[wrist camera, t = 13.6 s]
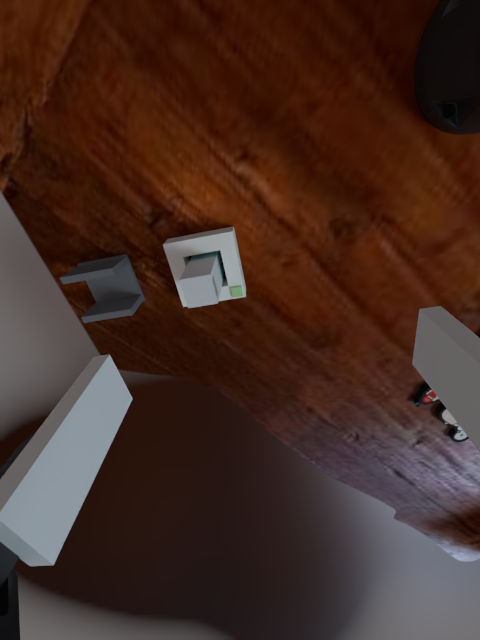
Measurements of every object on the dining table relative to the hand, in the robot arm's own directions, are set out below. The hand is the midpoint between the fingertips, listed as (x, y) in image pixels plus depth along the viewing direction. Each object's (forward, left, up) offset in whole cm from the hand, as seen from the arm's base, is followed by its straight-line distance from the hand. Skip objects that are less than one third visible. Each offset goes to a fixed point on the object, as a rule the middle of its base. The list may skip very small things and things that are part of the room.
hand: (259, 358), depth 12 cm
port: (+6, -8, -33) cm, 34 cm away
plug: (+6, -8, -33) cm, 34 cm away
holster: (+6, -24, -33) cm, 41 cm away
